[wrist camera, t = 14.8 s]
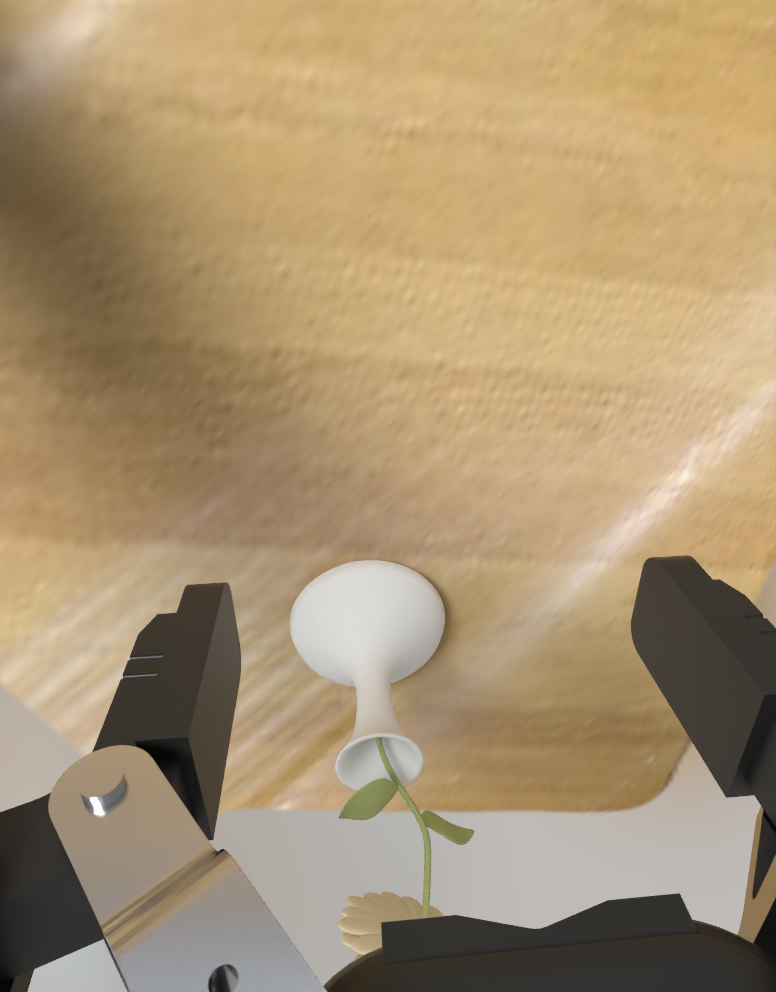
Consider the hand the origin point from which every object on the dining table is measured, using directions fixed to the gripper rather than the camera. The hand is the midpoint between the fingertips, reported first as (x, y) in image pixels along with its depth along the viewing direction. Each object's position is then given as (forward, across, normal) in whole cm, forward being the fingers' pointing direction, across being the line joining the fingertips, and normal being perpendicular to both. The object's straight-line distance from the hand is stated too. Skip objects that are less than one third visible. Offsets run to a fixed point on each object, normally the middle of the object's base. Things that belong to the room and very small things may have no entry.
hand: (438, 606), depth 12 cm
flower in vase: (+28, 0, +23) cm, 37 cm away
